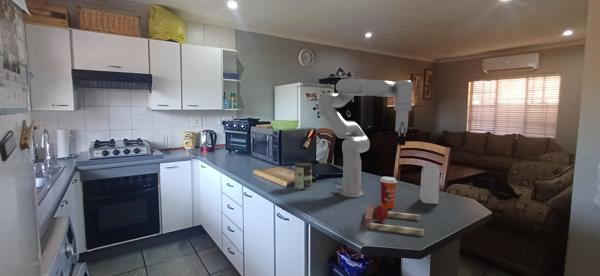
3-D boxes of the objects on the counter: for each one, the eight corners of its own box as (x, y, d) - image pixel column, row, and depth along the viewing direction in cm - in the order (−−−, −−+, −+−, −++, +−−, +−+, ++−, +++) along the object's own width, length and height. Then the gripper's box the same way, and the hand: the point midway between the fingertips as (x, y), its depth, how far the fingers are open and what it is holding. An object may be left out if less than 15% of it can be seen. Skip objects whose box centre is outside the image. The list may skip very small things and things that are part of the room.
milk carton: (438, 204, 141) (440, 166, 139) (422, 203, 142) (424, 165, 140) (434, 199, 148) (436, 163, 146) (419, 198, 149) (421, 163, 147)
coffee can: (311, 185, 174) (311, 162, 173) (311, 189, 164) (312, 165, 162) (294, 184, 174) (294, 162, 173) (294, 189, 164) (294, 165, 162)
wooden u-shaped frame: (364, 228, 113) (365, 218, 112) (367, 213, 128) (368, 204, 128) (423, 235, 106) (423, 225, 106) (419, 219, 122) (419, 210, 121)
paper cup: (387, 210, 132) (388, 181, 130) (375, 205, 138) (376, 177, 137) (399, 208, 135) (400, 179, 134) (387, 203, 142) (388, 175, 141)
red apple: (371, 219, 121) (372, 201, 121) (384, 219, 122) (385, 200, 121) (376, 225, 116) (377, 205, 115) (390, 224, 116) (391, 205, 115)
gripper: (394, 107, 142) (392, 141, 144) (394, 107, 126) (393, 145, 128) (410, 107, 140) (408, 142, 142) (412, 107, 124) (410, 146, 126)
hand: (401, 143), depth 135 cm, fingers open, 9 cm apart
